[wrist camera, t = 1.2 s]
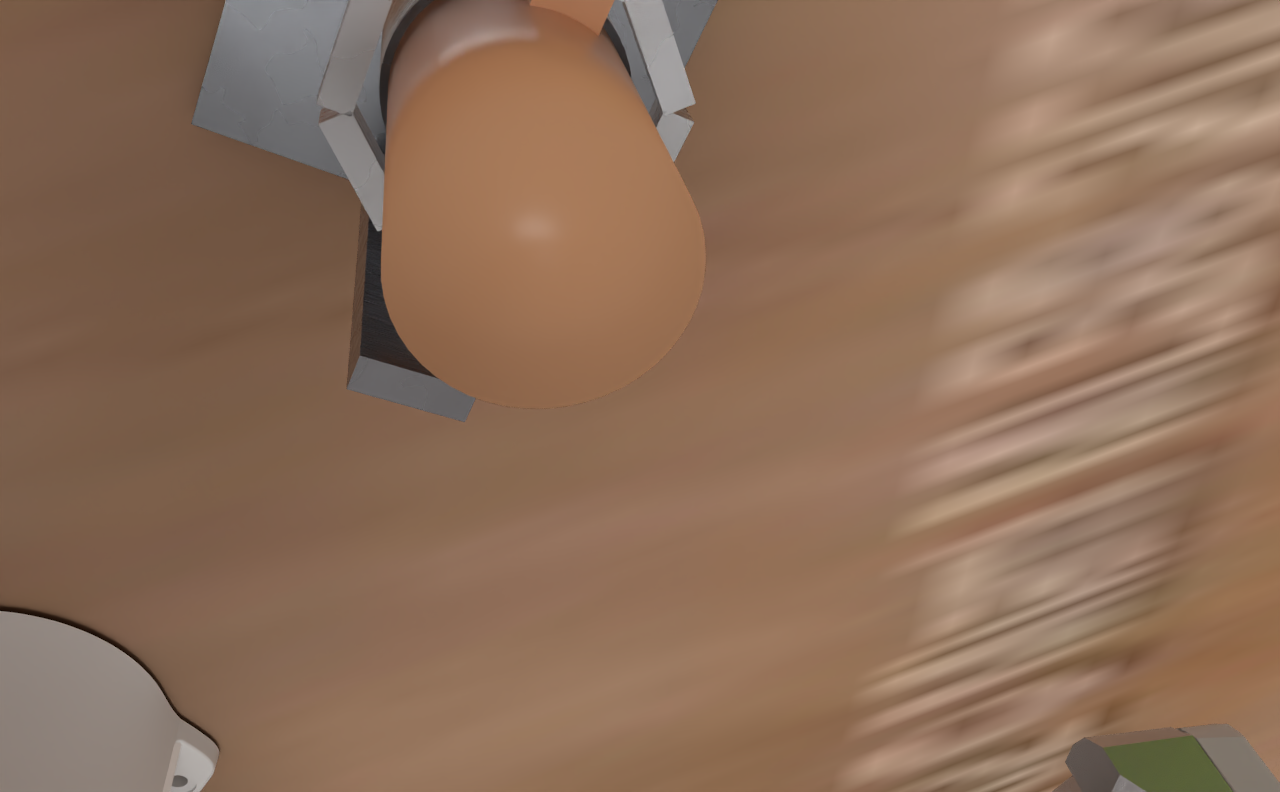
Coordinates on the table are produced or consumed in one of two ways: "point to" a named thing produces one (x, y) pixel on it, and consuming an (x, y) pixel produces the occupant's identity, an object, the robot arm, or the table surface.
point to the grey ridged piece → (357, 117)
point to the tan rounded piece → (531, 206)
